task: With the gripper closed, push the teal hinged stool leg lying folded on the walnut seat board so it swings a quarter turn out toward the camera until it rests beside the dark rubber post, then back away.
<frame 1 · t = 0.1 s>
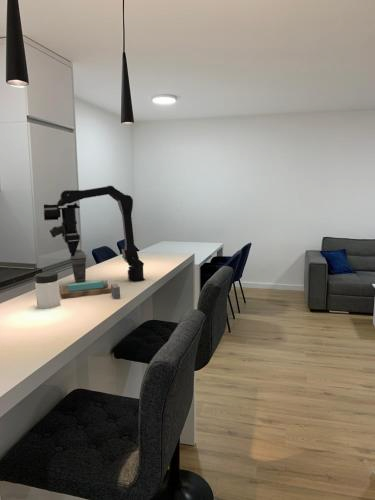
hand: (72, 254, 176), 15 cm above the breakfast bar, tool pointing down, fingers open, 9 cm apart
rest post: (115, 296, 160), on the breakfast bar
seat board: (85, 291, 169), on the breakfast bar
beverage cup: (80, 283, 187), on the breakfast bar
jar: (48, 305, 151), on the breakfast bar
leg: (88, 285, 165), point 4 cm above the breakfast bar, hinge at 0.0°
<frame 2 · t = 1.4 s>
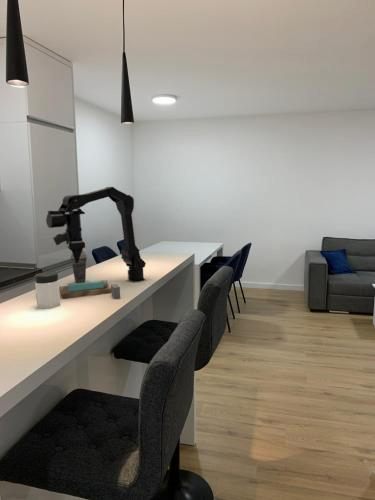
hand: (76, 262, 168), 12 cm above the breakfast bar, tool pointing down, fingers closed
nothing on the breakfast bar moved.
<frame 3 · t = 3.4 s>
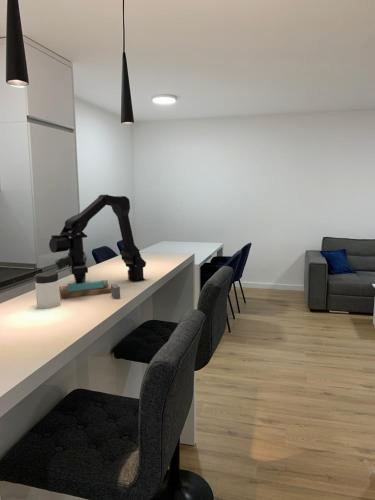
hand: (78, 286, 166), 3 cm above the breakfast bar, tool pointing down, fingers closed
leg: (88, 285, 165), point 4 cm above the breakfast bar, hinge at 0.2°, touching gripper
everything else where it was.
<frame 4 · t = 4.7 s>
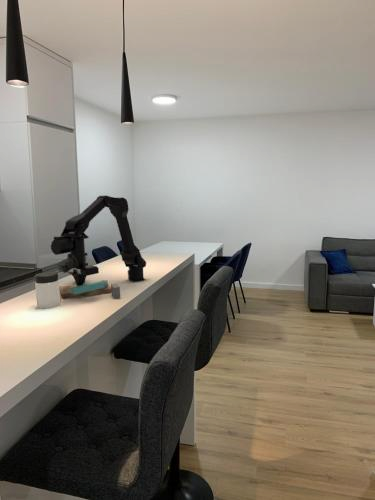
hand: (79, 288, 162), 3 cm above the breakfast bar, tool pointing down, fingers closed
leg: (90, 287, 162), point 4 cm above the breakfast bar, hinge at 24.1°, touching gripper
everything else where it was.
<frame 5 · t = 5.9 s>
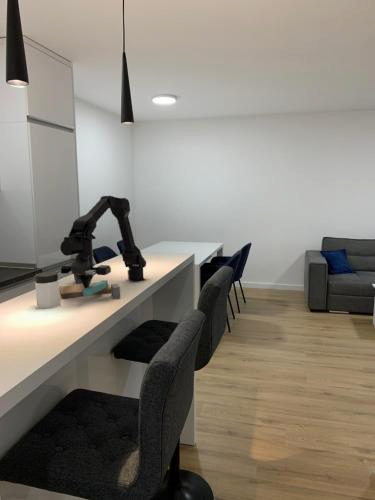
hand: (86, 290, 158), 3 cm above the breakfast bar, tool pointing down, fingers closed
leg: (96, 287, 161), point 4 cm above the breakfast bar, hinge at 52.1°, touching gripper
everything else where it was.
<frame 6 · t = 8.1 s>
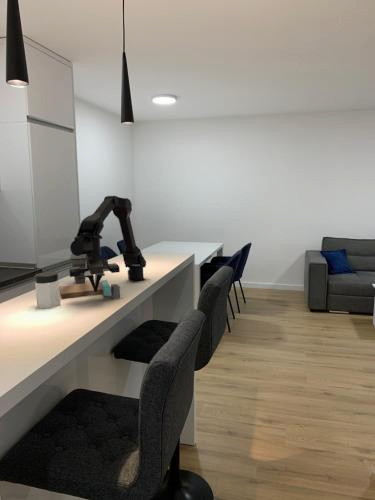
hand: (95, 291, 156), 3 cm above the breakfast bar, tool pointing down, fingers closed
leg: (105, 287, 161), point 4 cm above the breakfast bar, hinge at 85.7°
everything else where it was.
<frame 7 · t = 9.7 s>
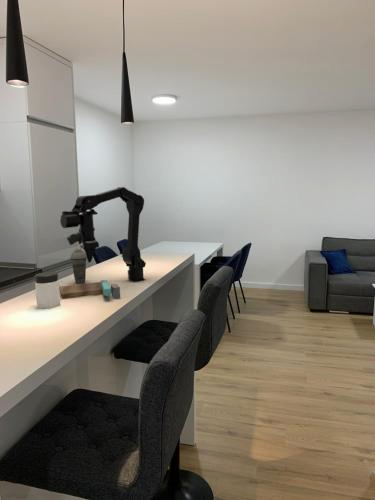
hand: (89, 262, 172), 12 cm above the breakfast bar, tool pointing down, fingers closed
nothing on the breakfast bar moved.
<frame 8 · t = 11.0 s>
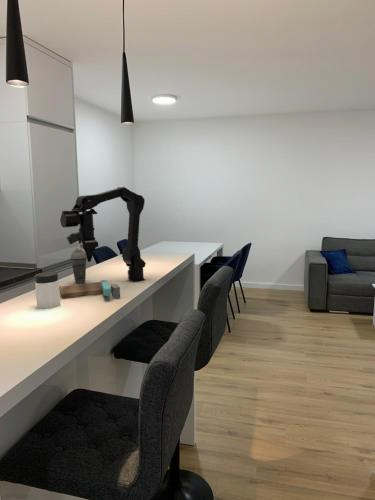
hand: (89, 261, 172), 12 cm above the breakfast bar, tool pointing down, fingers closed
nothing on the breakfast bar moved.
at the end: leg at +86° (first picture: +0°); jar moved 0.2 cm from its start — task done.
